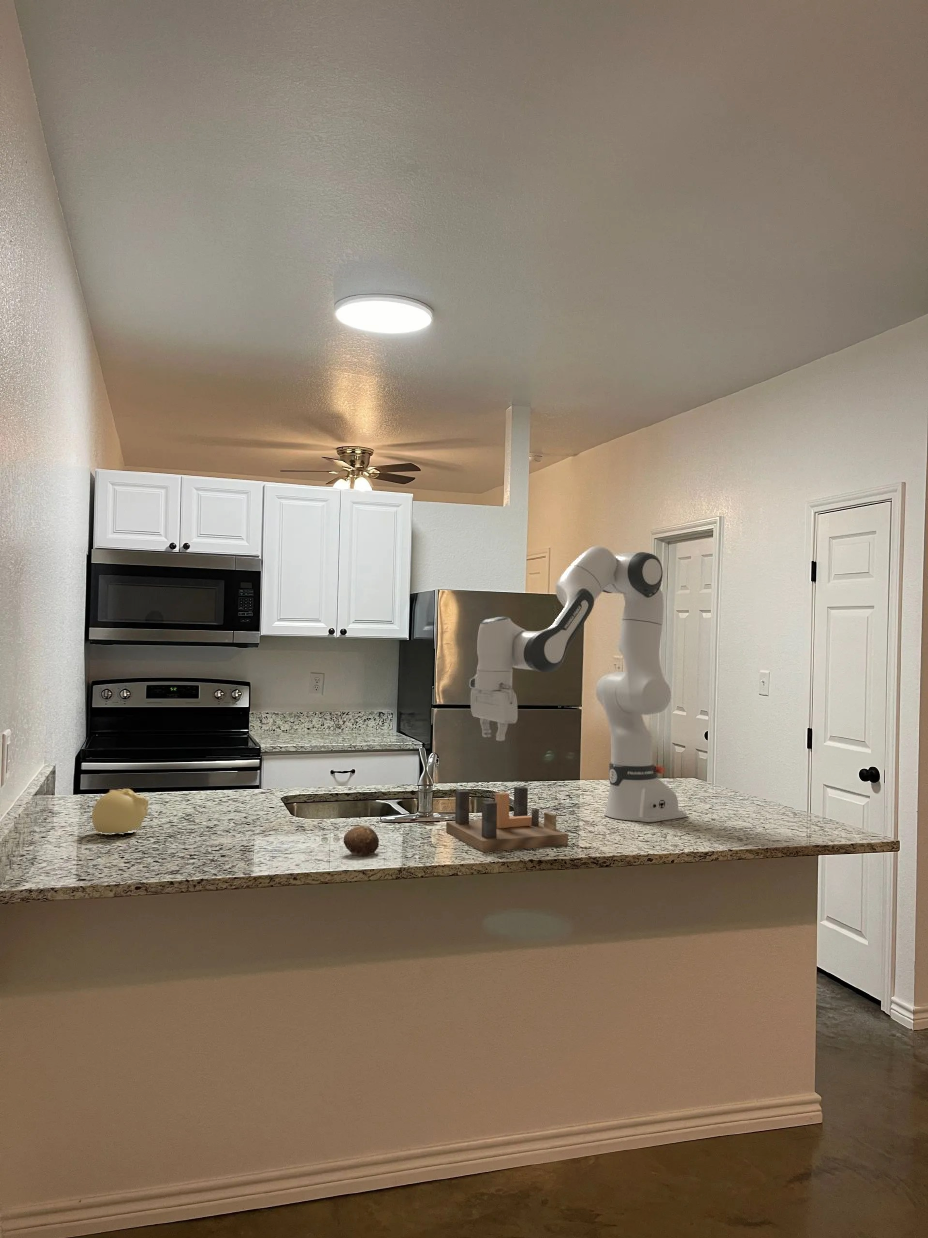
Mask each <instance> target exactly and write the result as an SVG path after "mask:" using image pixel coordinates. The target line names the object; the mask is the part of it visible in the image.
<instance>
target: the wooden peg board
mask: <svg viewBox="0 0 928 1238" xmlns="http://www.w3.org/2000/svg"><path fill="white" fill-rule="evenodd" d="M528 791H529V787H526V786H523V785H521V786H514V787H513V817H516V816H529V813H528V808H529V806H528V805H529V804H528V803H529V799H528V797H529V792H528ZM470 792H471V791H470V790H468V789H457V790H456V789H455V801H454V802H455V813H454V815H455V816H454V820H453V821H452V820H451V821H446V822H445V823H446V824H445V832H446V833H448V834H449V835H451V836H453V837H454V838H456V839H458V840H459V841H462V842H464V843H465V844H467V845H469V846H470V847H473V848H474V849H476V850H478V851H479V852H481V853H487V852H498V851H509V850H510V851H511V850H520V849H521V850H522V849H531V848H543V847H544V848H545V847H554V846H555V847H556V846H566V845H567V846H568V844H569V833H568V832H564V831H562V830H560V829H557V814H554V813H552V812H550V811H544V812H543V822H540V808H531V817H532V824H531V826H518V827H509V828H498V827H497V803H496V802H495V800H494V801H493V800H488V801H485V800H484V801H481V819H470Z"/></svg>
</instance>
